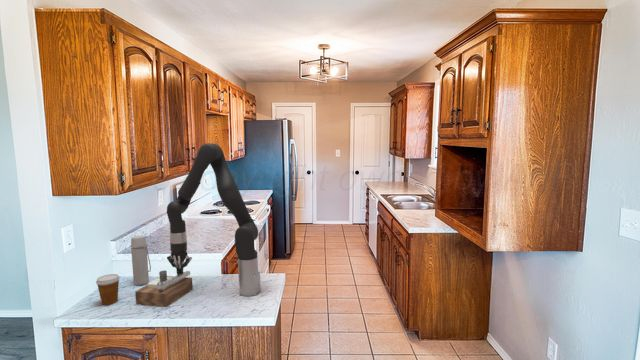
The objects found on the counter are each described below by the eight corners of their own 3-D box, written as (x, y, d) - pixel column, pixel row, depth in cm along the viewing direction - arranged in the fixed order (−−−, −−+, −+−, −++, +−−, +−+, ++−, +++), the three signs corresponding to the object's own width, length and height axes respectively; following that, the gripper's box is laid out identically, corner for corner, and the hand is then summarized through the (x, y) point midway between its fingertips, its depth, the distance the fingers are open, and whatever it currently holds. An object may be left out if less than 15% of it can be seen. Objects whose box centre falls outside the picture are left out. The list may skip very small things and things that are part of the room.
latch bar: (190, 274, 178) (190, 270, 178) (160, 289, 160) (159, 284, 160) (186, 274, 179) (186, 269, 179) (156, 288, 161) (155, 283, 161)
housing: (192, 289, 180) (191, 274, 179) (166, 307, 160) (165, 290, 160) (165, 287, 184) (164, 273, 183) (136, 304, 164) (134, 288, 164)
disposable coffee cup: (94, 308, 161) (92, 282, 160) (101, 299, 170) (99, 275, 169) (118, 305, 164) (116, 279, 163) (123, 296, 173) (121, 272, 172)
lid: (179, 280, 176) (178, 268, 175) (165, 288, 166) (165, 275, 165) (161, 279, 178) (160, 267, 178) (147, 287, 168) (146, 274, 168)
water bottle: (138, 287, 185) (135, 239, 182) (130, 284, 189) (126, 237, 187) (155, 281, 192) (152, 235, 190) (147, 278, 197) (143, 233, 194)
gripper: (195, 239, 177) (196, 274, 179) (171, 238, 181) (173, 271, 182) (185, 243, 170) (187, 279, 172) (161, 242, 173) (163, 277, 175)
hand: (180, 275), depth 177 cm, fingers closed
